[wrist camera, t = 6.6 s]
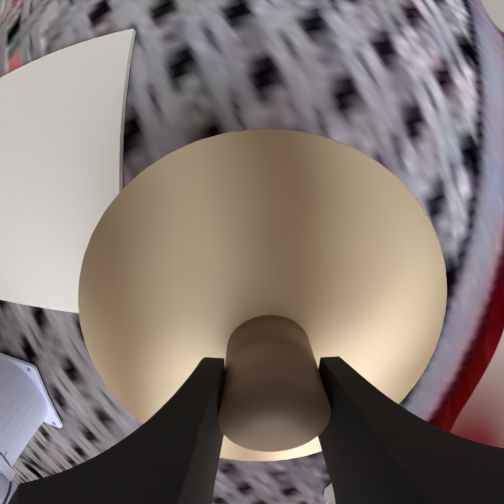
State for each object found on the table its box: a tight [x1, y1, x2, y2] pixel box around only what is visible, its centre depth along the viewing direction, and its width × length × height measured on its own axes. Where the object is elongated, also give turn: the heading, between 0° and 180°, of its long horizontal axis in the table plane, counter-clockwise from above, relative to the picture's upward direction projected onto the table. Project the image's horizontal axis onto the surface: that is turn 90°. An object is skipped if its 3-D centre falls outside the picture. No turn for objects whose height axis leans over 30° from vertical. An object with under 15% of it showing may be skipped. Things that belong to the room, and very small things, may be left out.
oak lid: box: [78, 129, 447, 461], centre depth 9 cm, size 15×15×4 cm
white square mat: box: [0, 29, 136, 313], centre depth 14 cm, size 18×18×1 cm
